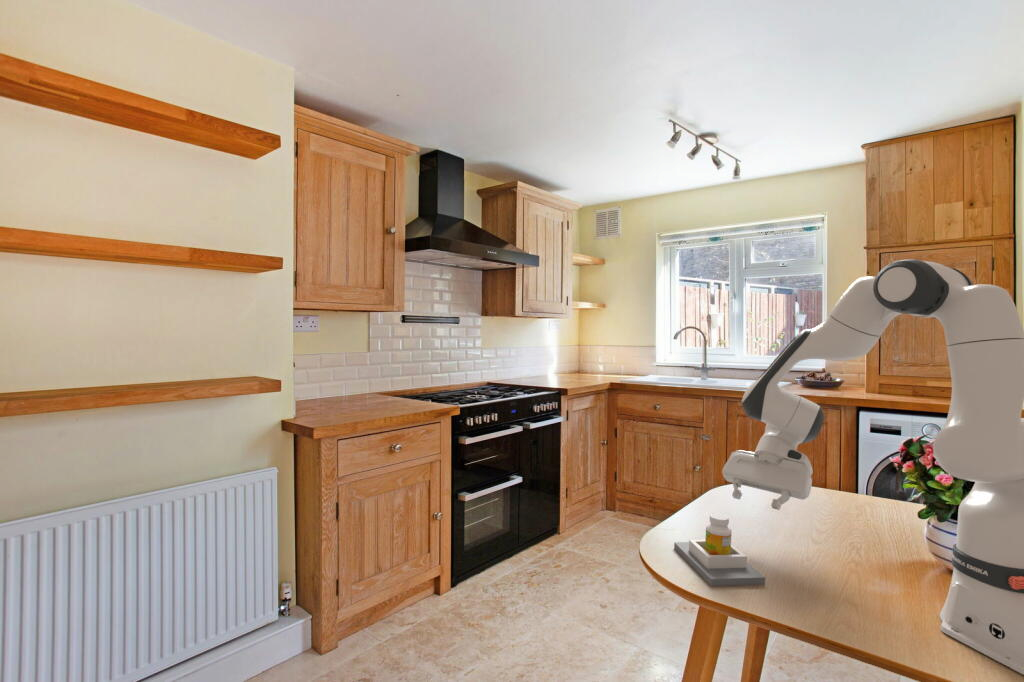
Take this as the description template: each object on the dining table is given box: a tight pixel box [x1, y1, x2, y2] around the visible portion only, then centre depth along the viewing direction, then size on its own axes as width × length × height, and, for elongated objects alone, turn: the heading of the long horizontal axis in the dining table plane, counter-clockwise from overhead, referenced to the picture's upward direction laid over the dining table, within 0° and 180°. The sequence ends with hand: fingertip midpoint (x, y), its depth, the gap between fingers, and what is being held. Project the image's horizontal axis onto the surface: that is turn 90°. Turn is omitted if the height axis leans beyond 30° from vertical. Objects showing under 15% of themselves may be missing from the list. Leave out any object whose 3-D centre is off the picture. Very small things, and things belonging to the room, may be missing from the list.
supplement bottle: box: [704, 512, 733, 555], centre depth 120 cm, size 5×5×10 cm
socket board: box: [673, 539, 766, 587], centre depth 120 cm, size 18×12×4 cm, turn 7°
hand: (754, 502), depth 128 cm, fingers open, 8 cm apart
